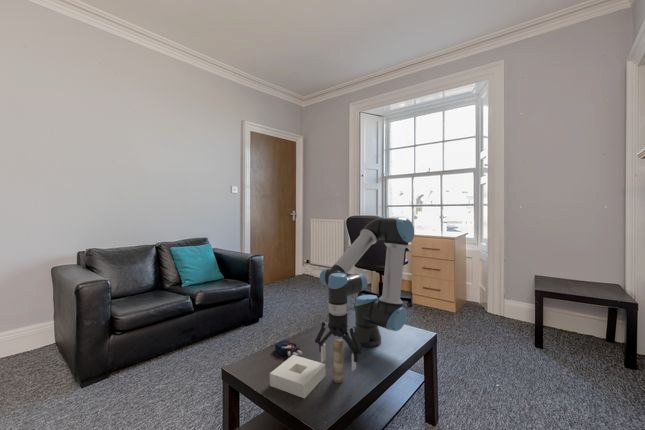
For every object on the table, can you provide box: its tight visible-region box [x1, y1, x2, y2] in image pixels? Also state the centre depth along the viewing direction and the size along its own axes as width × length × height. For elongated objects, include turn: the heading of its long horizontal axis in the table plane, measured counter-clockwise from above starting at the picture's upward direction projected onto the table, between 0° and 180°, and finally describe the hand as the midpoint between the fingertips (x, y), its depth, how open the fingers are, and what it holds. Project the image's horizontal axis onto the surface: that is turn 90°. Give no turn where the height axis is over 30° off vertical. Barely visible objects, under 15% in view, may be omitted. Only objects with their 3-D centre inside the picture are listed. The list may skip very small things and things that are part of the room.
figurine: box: [274, 339, 303, 357], centre depth 139 cm, size 9×4×15 cm
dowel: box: [332, 338, 344, 384], centre depth 117 cm, size 4×4×16 cm
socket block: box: [269, 355, 326, 399], centre depth 117 cm, size 16×16×5 cm
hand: (338, 364), depth 117 cm, fingers open, 13 cm apart
